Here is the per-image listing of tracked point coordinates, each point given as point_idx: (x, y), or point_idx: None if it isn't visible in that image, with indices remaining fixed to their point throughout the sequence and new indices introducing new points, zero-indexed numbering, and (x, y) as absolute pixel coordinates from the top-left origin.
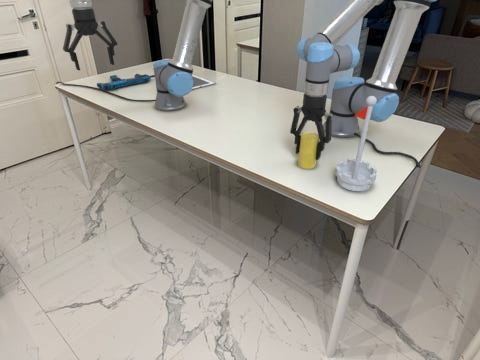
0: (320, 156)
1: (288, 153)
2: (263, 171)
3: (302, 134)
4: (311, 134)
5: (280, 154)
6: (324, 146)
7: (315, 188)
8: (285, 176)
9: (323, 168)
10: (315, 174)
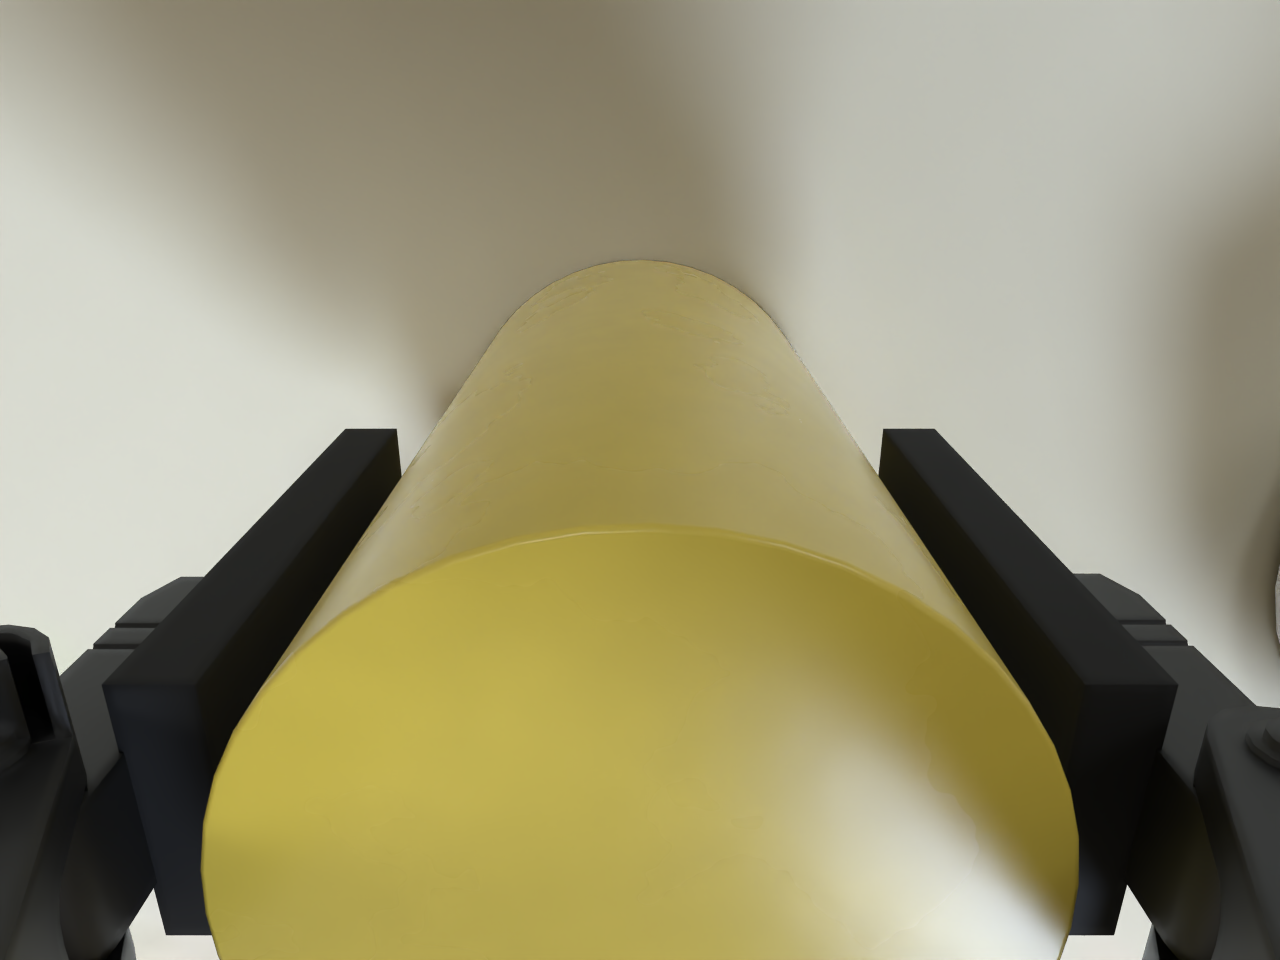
0: (938, 439)
1: (102, 226)
2: (200, 940)
3: (259, 947)
4: (609, 752)
5: (12, 362)
6: (1187, 661)
7: None
8: None
9: (970, 395)
10: None
